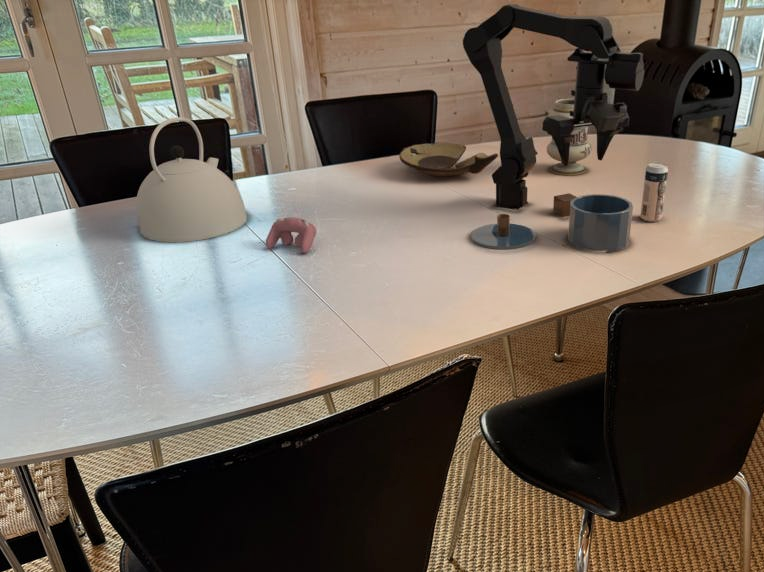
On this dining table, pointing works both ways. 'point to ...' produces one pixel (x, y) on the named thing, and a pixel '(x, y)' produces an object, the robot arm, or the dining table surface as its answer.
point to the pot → (600, 222)
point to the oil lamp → (443, 159)
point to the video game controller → (283, 231)
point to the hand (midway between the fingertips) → (582, 162)
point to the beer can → (654, 192)
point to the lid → (503, 234)
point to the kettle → (187, 197)
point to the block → (562, 204)
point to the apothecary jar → (577, 145)
